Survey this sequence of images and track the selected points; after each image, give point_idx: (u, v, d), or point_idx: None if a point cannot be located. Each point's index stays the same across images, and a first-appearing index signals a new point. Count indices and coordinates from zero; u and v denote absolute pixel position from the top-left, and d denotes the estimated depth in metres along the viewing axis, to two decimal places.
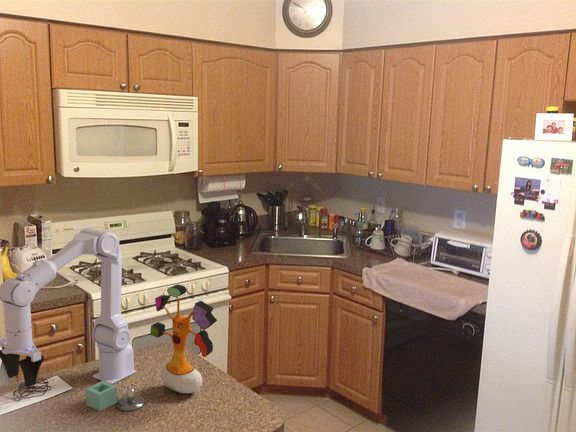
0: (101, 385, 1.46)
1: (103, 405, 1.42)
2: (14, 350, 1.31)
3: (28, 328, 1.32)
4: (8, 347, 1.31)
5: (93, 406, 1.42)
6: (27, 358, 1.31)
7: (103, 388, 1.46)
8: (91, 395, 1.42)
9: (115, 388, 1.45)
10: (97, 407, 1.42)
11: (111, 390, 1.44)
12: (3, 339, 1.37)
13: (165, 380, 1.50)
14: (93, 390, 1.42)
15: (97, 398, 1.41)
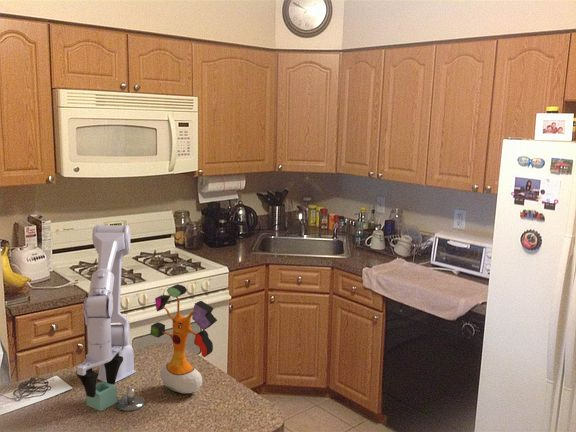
0: (101, 385, 1.46)
1: (103, 405, 1.42)
2: (87, 357, 1.42)
3: None
4: None
5: (93, 406, 1.42)
6: None
7: (103, 388, 1.46)
8: None
9: (115, 388, 1.45)
10: (97, 407, 1.42)
11: (111, 390, 1.44)
12: (117, 347, 1.49)
13: (165, 380, 1.50)
14: None
15: (97, 398, 1.41)
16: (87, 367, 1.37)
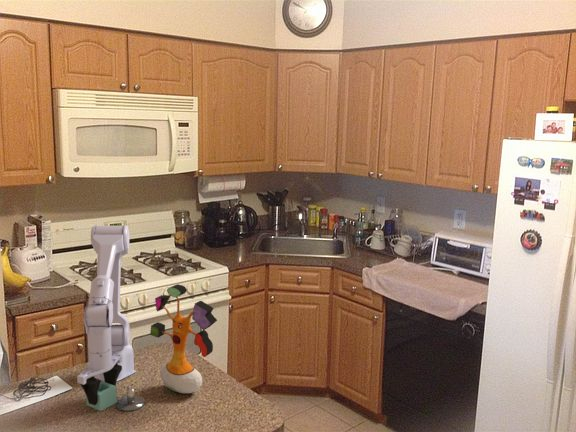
0: (101, 385, 1.46)
1: (103, 405, 1.42)
2: (88, 366, 1.42)
3: None
4: None
5: (93, 406, 1.42)
6: None
7: (103, 388, 1.46)
8: None
9: (115, 388, 1.45)
10: (97, 407, 1.42)
11: (111, 390, 1.44)
12: (117, 355, 1.49)
13: (165, 380, 1.50)
14: None
15: None
16: (87, 376, 1.37)
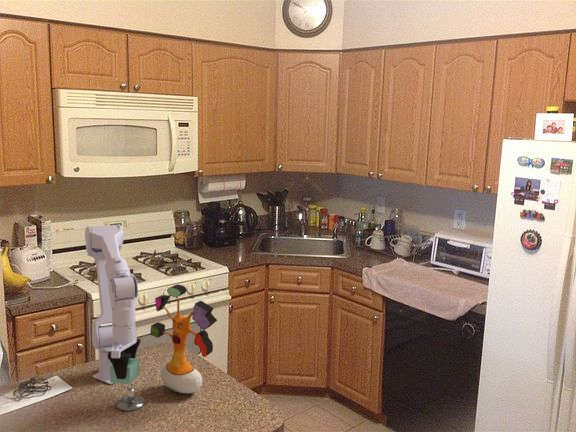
0: None
1: (131, 378, 1.41)
2: (112, 341, 1.40)
3: None
4: None
5: (120, 381, 1.41)
6: None
7: None
8: None
9: (138, 360, 1.45)
10: (126, 381, 1.40)
11: (136, 363, 1.43)
12: None
13: (165, 380, 1.50)
14: None
15: None
16: (121, 349, 1.36)
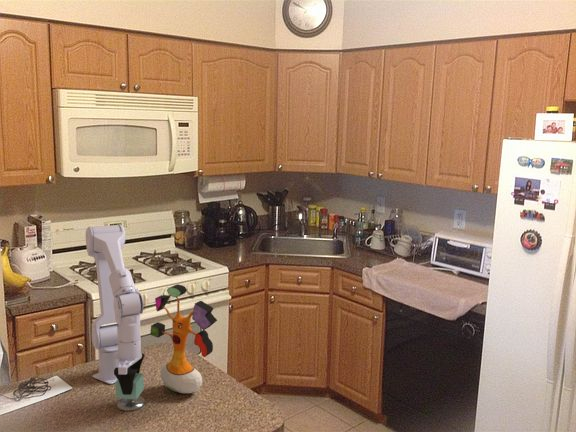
0: None
1: (137, 393, 1.42)
2: (118, 357, 1.40)
3: None
4: None
5: (126, 397, 1.41)
6: None
7: None
8: None
9: (143, 375, 1.46)
10: (132, 396, 1.41)
11: (141, 377, 1.44)
12: None
13: (165, 380, 1.50)
14: None
15: None
16: (128, 365, 1.37)
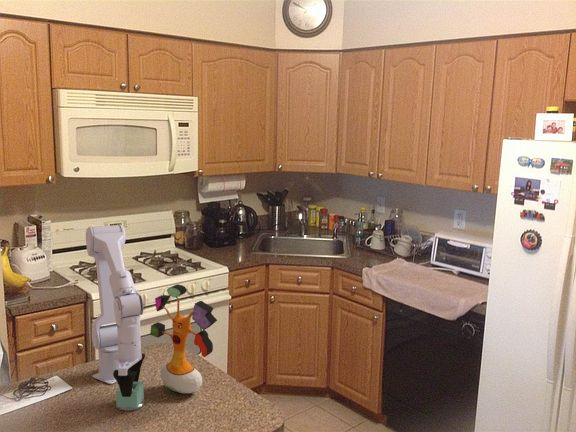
0: None
1: (138, 402, 1.43)
2: (118, 358, 1.40)
3: None
4: None
5: (127, 406, 1.42)
6: None
7: None
8: None
9: (143, 384, 1.46)
10: (133, 405, 1.42)
11: (141, 386, 1.45)
12: None
13: (165, 380, 1.50)
14: None
15: (133, 396, 1.41)
16: (128, 367, 1.37)
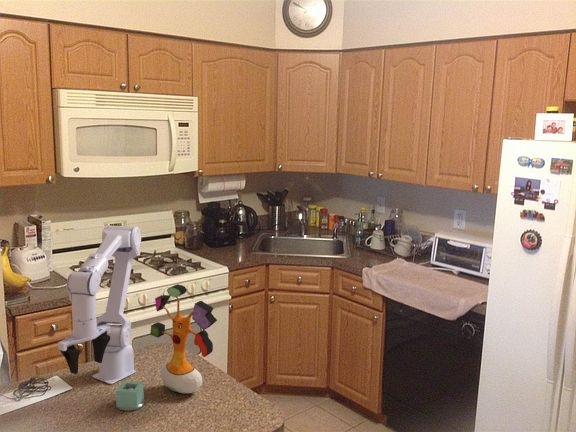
0: (126, 385, 1.45)
1: (138, 402, 1.43)
2: (73, 333, 1.41)
3: None
4: None
5: (127, 406, 1.42)
6: None
7: None
8: (124, 395, 1.41)
9: (143, 384, 1.46)
10: (133, 405, 1.42)
11: (141, 386, 1.45)
12: None
13: (165, 380, 1.50)
14: (125, 390, 1.42)
15: (133, 396, 1.41)
16: (68, 343, 1.36)
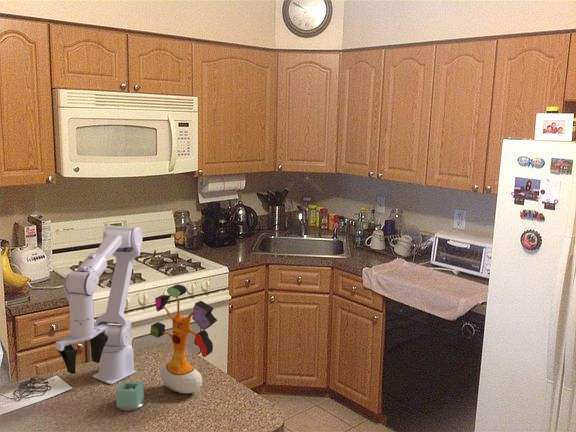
0: (126, 385, 1.45)
1: (138, 402, 1.43)
2: (70, 333, 1.42)
3: (93, 316, 1.41)
4: None
5: (127, 406, 1.42)
6: None
7: None
8: (124, 395, 1.41)
9: (143, 384, 1.46)
10: (133, 405, 1.42)
11: (141, 386, 1.45)
12: None
13: (165, 380, 1.50)
14: (125, 390, 1.42)
15: (133, 396, 1.41)
16: (65, 343, 1.36)
